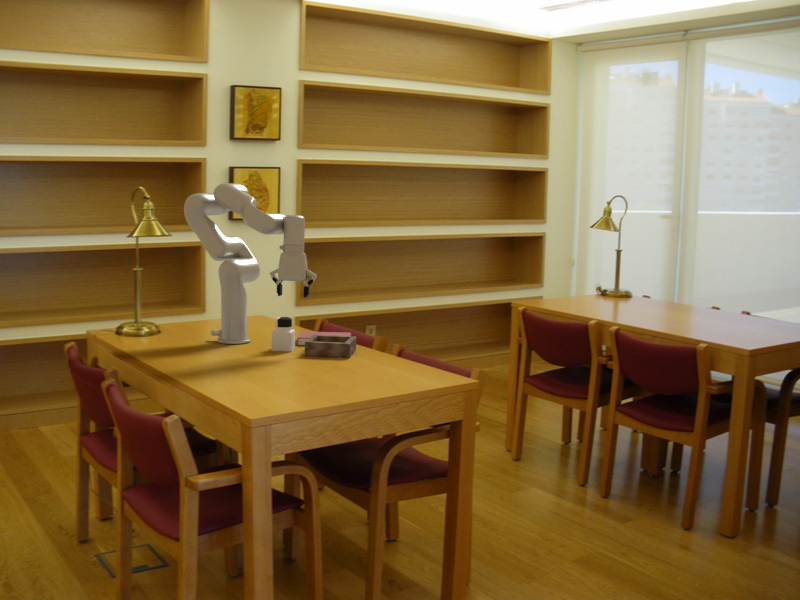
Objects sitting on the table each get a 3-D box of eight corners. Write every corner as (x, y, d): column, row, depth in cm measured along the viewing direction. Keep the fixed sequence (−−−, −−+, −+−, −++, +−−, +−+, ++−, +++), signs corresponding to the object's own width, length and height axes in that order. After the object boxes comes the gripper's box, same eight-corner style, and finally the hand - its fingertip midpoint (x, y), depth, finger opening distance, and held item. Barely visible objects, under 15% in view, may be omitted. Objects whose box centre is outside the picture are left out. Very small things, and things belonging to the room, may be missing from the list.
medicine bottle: (295, 348, 309) (295, 316, 307) (290, 352, 301) (291, 319, 300) (276, 347, 309) (276, 315, 308) (271, 351, 302) (271, 318, 301)
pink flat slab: (297, 345, 314) (297, 337, 314) (299, 339, 329) (299, 331, 328) (350, 346, 315) (350, 338, 315) (350, 340, 330) (350, 332, 329)
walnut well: (304, 355, 295) (304, 342, 294) (313, 347, 310) (313, 334, 310) (349, 358, 293) (349, 343, 293) (356, 349, 309) (356, 336, 308)
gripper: (267, 248, 300) (266, 296, 302) (314, 251, 297) (313, 299, 299) (273, 247, 307) (273, 293, 309) (319, 250, 304) (318, 296, 307)
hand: (292, 296), depth 304 cm, fingers open, 9 cm apart
